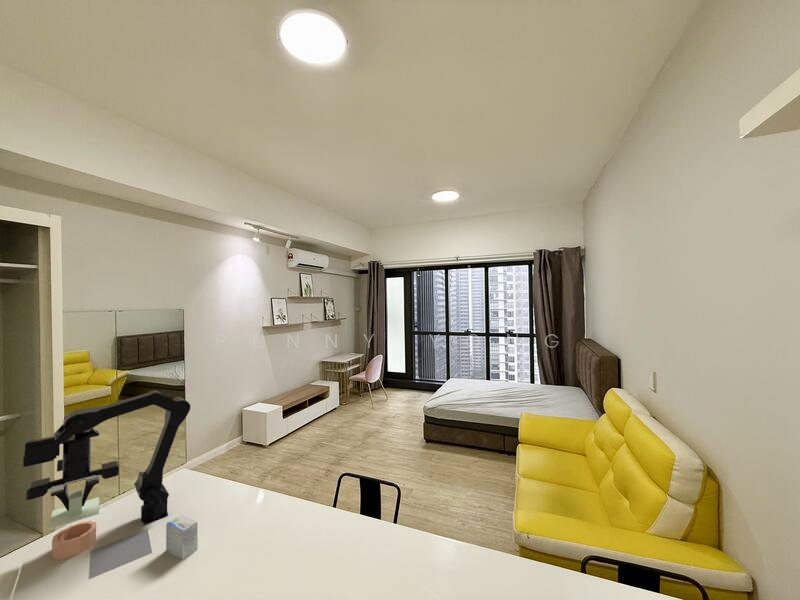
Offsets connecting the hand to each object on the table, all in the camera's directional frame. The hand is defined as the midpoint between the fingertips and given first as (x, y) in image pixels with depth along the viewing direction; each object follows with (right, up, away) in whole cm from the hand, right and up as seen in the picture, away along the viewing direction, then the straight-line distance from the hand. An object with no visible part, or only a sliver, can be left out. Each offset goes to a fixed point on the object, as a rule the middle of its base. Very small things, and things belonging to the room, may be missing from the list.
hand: (75, 507), depth 94 cm
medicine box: (+32, -12, -1) cm, 34 cm away
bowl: (0, -12, 0) cm, 12 cm away
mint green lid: (0, -2, 0) cm, 2 cm away
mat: (+15, -12, -2) cm, 19 cm away
